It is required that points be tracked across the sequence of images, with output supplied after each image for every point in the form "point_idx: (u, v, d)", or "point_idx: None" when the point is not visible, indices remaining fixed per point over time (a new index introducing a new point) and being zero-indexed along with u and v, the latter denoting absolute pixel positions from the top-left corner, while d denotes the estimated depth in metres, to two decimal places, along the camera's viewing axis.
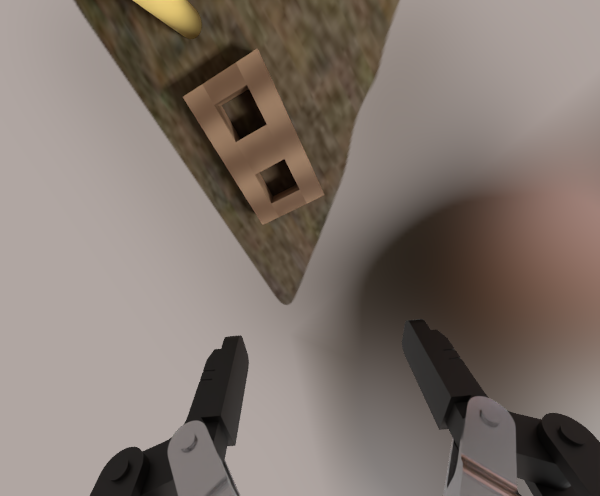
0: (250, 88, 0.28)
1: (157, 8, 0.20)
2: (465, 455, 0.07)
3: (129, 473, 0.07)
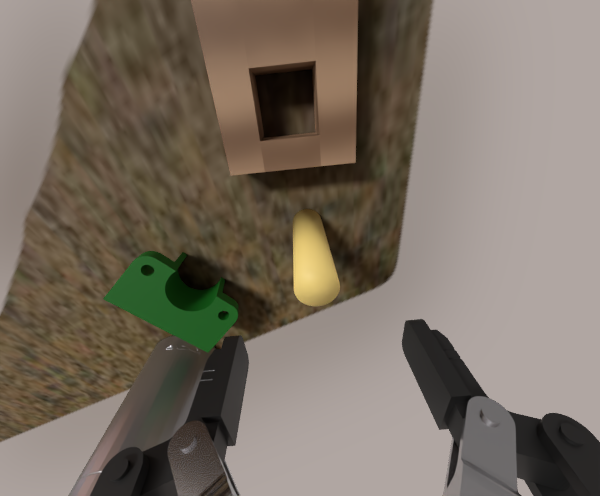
0: (256, 134, 0.18)
1: (314, 254, 0.17)
2: (465, 455, 0.07)
3: (129, 473, 0.07)
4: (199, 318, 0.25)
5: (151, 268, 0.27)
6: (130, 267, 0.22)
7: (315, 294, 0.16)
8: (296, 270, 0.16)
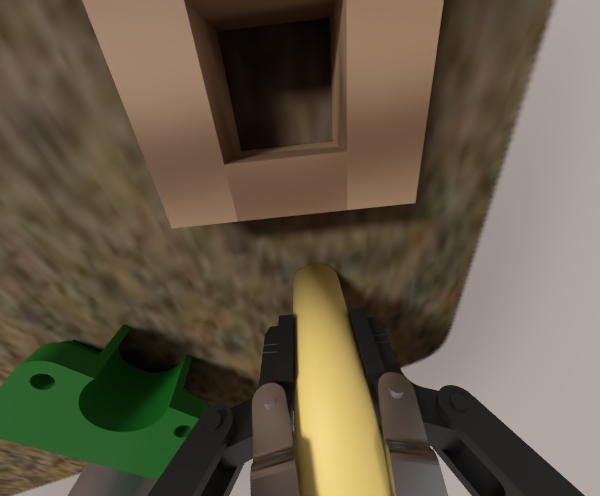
0: (215, 150, 0.09)
1: (341, 429, 0.07)
2: (388, 437, 0.07)
3: (223, 425, 0.08)
4: (144, 439, 0.15)
5: (78, 346, 0.18)
6: (10, 380, 0.13)
7: None
8: (300, 474, 0.07)
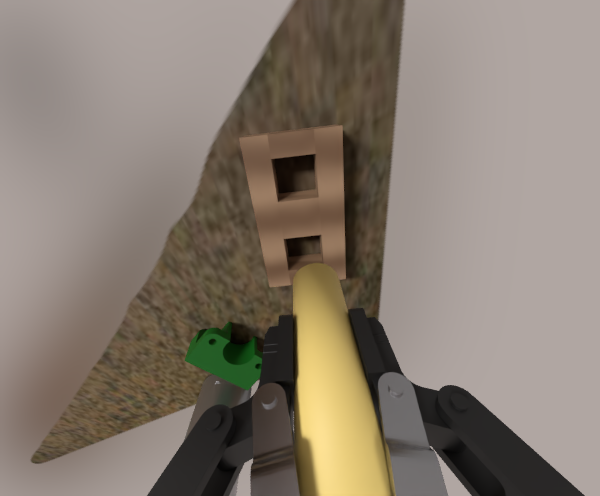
0: (286, 267, 0.31)
1: (341, 429, 0.07)
2: (388, 436, 0.07)
3: (223, 425, 0.08)
4: (243, 368, 0.37)
5: None
6: (202, 340, 0.34)
7: None
8: (300, 474, 0.07)
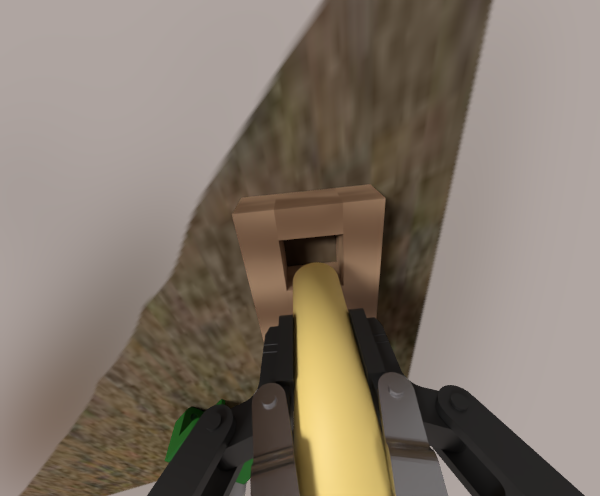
0: None
1: (341, 429, 0.07)
2: (388, 436, 0.07)
3: (223, 425, 0.08)
4: None
5: (195, 410, 0.33)
6: None
7: None
8: (300, 474, 0.07)
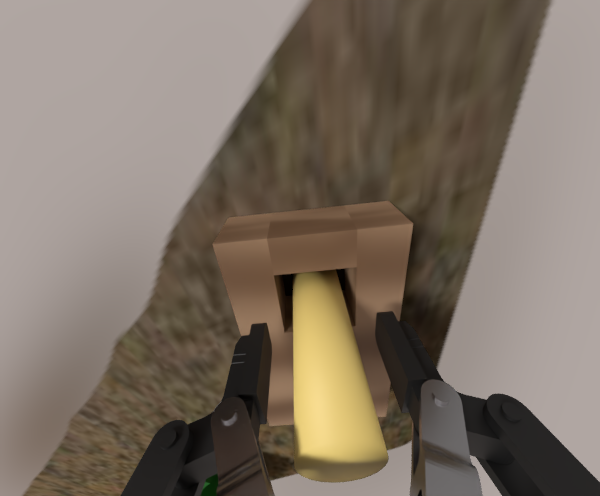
0: None
1: (333, 379, 0.09)
2: (425, 441, 0.07)
3: (178, 442, 0.08)
4: None
5: None
6: None
7: (336, 470, 0.08)
8: (299, 416, 0.08)
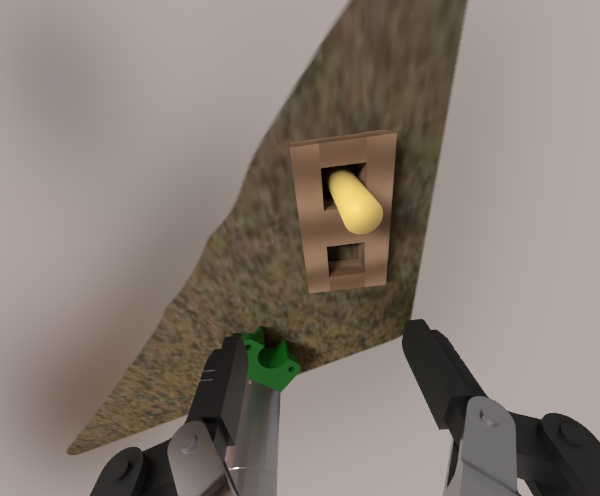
0: (327, 274, 0.30)
1: (358, 190, 0.19)
2: (465, 455, 0.07)
3: (129, 473, 0.07)
4: (276, 372, 0.38)
5: None
6: None
7: (360, 223, 0.19)
8: (343, 203, 0.19)
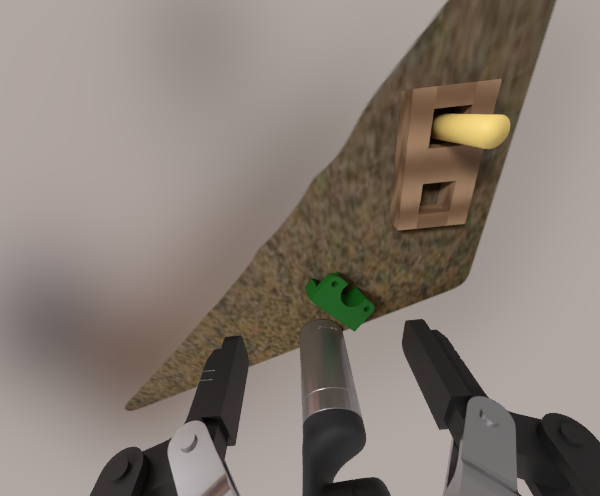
0: (417, 211, 0.35)
1: (485, 114, 0.24)
2: (465, 455, 0.07)
3: (129, 473, 0.07)
4: (354, 310, 0.42)
5: (316, 281, 0.45)
6: (327, 282, 0.40)
7: (490, 138, 0.24)
8: (475, 123, 0.24)
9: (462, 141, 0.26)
